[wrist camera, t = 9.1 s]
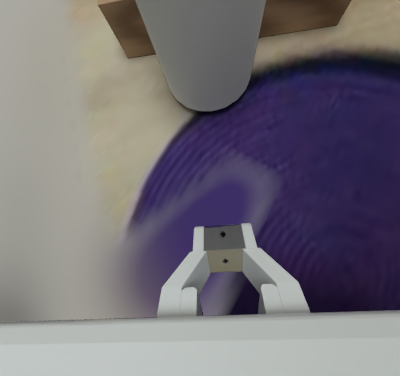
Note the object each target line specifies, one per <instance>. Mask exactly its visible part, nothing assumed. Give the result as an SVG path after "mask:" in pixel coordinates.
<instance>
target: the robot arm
mask: <svg viewBox="0 0 400 376" xmlns="http://www.w3.org/2000/svg"><path fill="white" fill-rule="evenodd" d="M237 271H243V273H244V274H245V276H246V277H247V278H248V279H249V281H250V282H251V283H252V285H253V286H254V287H255V289H256V290H257V291H258V292H259V294H260V298H259V307H258V314H251V315H217V316H203V312H202V308H201V304H200V300H199V294H200V292H201V290H202V289H203V287H204V285H205V283H206V281H207V279H208V277H209V276H210V273H216V272H237ZM0 376H400V310H387V311H354V312H320V313H311V312H310V310H309V307H308V305H307V302H306V300H305V297H304V295H303V292H302V290H301V287H300V285H299V282H298V281H297V280H296V279H294V278H293V277H292V276H291V275H290V274H289V273H288V272H287V271H286V270H284V269H283V268H282V267H281V266H280V265H279V264H278V263H277V262H275V261H274V260H273V259H272V258H271V257H270V256H269V255H268V254H267V253H265V252H264V251H263V250H262V249H261V248H257V245H256V241H255V237H254V233H253V230H252V226H251V224H250V223H243V224H231V225H222V226H221V225H220V226H202V227H195V228H194V239H193V252H190V253H189V254H188V255H187V256H186V258H185V259H184V260H183V261H182V263H181V264H180V265H179V267H178V268H177V269H176V270H175V272H174V273H173V274H172V275H171V277H170V278H169V279H168V281H167V282H166V283H165V284H164V286H163V287H162V290H161V295H160V301H159V306H158V311H157V317H151V318H119V319H84V320H54V321H16V322H0Z"/></svg>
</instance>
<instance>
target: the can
mask: <svg viewBox="0 0 400 376" xmlns="http://www.w3.org/2000/svg"><path fill="white" fill-rule="evenodd" d="M135 1H136V4H137V6H138V9H139V11H140V14H141V16H142V19H143V22H144V24H145V27H146V29H147V32H148V34H149V37H150V40H151V42H152V45H153V47H154V50H155V52H156V55H157V57H158V60H159V63H160V65H161V68H162V70H163V73H164V75H165V78H166V81H167V83H168V86H169V88H170V91H171V92H172V94H173V95H174V97H175V98H176V100H177V101H179V102H180V103H182V104H183V105H184V106H186V107H187V108H191V109H194V110H197V111H215V110H218V109H222V108H225V107H227V106H229V105H230V104H232V103H233V102H235V101H236V100H238V98H239V97H240V96H241V95H242V94H243V92H244V91H245V90H246V88H247V85H248V83H249V80H250V77H251V72H252V67H253V62H254V57H255V52H256V47H257V42H258V37H259V32H260V27H261V23H262V18H263V13H264V8H265V3H266V0H135Z"/></svg>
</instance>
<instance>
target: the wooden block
mask: <svg viewBox="0 0 400 376" xmlns="http://www.w3.org/2000/svg"><path fill="white" fill-rule="evenodd" d="M350 2H351V0H266V3H265V8H264V13H263V18H262V23H261V27H260V32H259V37H264V36H271V35H277V34H283V33H289V32H296V31H302V30H308V29H315V28H321V27H327V26H333V25H337V24H338V22H339V20H340V19H341V17H342V15H343V14H344V12H345V10H346V9H347V7H348V5H349V3H350ZM98 6H99V8H100V9H101V11H102V13H103V15H104V16H105V18H106V20H107V22H108V23H109V25H110V27H111V29H112V31H113V32H114V34H115V36H116V38H117V39H118V41H119V43H120V45H121V46H122V48H123V50H124V52H125V53H126V55H127V57H128V58H133V57H139V56H145V55H151V54H156V52H155V50H154V47H153V45H152V42H151V40H150V37H149V34H148V32H147V29H146V27H145V24H144V22H143V19H142V16H141V14H140V11H139V9H138V6H137V4H136V1H135V0H98Z"/></svg>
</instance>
